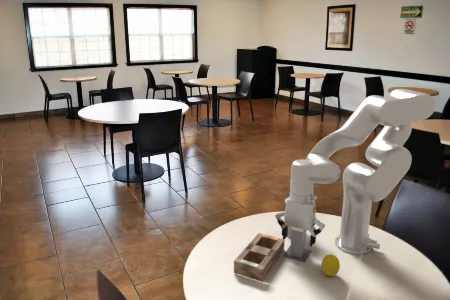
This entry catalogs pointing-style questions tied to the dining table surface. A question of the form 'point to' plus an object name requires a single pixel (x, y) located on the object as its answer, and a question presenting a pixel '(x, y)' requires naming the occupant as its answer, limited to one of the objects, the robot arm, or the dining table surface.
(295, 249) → the plug
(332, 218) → the dining table surface
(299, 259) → the mat
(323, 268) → the lemon
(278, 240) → the socket block
